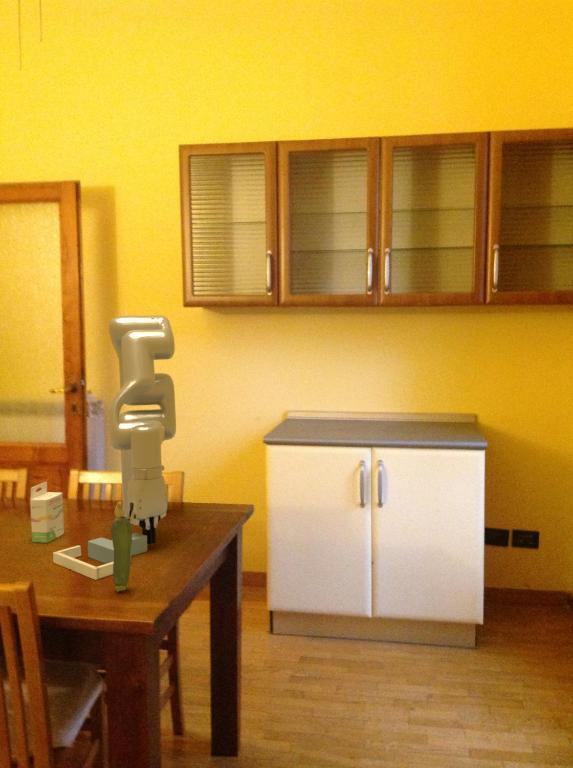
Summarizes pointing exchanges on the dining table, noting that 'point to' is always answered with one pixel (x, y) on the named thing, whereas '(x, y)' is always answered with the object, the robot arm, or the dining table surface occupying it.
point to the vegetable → (121, 548)
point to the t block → (105, 550)
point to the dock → (81, 563)
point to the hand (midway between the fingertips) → (149, 542)
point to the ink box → (46, 514)
